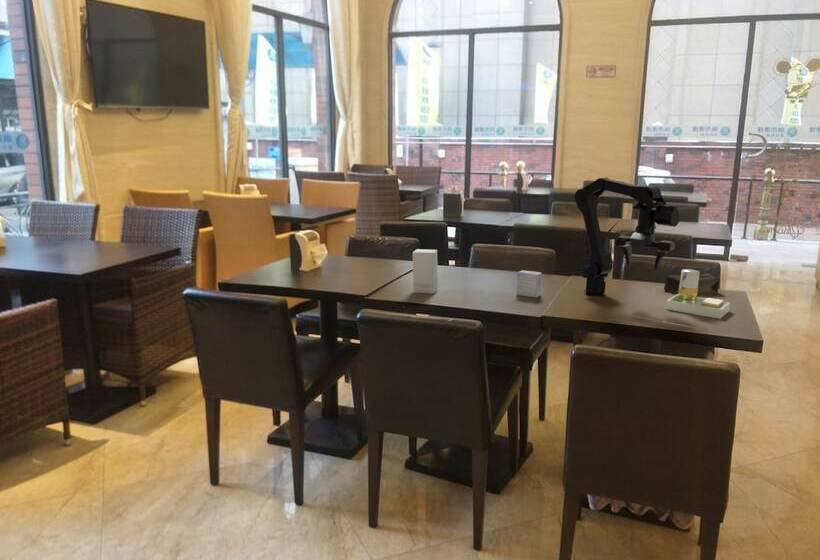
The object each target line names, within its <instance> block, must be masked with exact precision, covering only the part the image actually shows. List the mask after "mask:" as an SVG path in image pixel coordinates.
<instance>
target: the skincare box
mask: <svg viewBox="0 0 820 560" xmlns="http://www.w3.org/2000/svg"><path fill="white" fill-rule="evenodd" d="M438 288H439V287H438V249H427V248H426V249H420V248H417V249H415V250H414V251H413V252H412V291H413V293H415V294H430V295H434V294H435V293H436V292H437V291H438V290H439V289H438Z"/></svg>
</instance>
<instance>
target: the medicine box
mask: <svg viewBox="0 0 820 560" xmlns="http://www.w3.org/2000/svg"><path fill="white" fill-rule="evenodd" d="M542 275H543V273H542V272H540V271H532V270H520V271H518V272H517V282H516V296H523V297H529V298H537V299H538V297H540V296H541V293H542Z"/></svg>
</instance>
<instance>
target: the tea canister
mask: <svg viewBox="0 0 820 560" xmlns="http://www.w3.org/2000/svg"><path fill="white" fill-rule="evenodd" d="M680 272H681V273H680V275H681V279H680V285H679V294H678V302H682V303H688V304H694V305H696V300H697V297H698V294H697V292H698V281H699V275H700V270H698V269H697V270H696V269H691V268H683V269H681V271H680Z"/></svg>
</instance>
